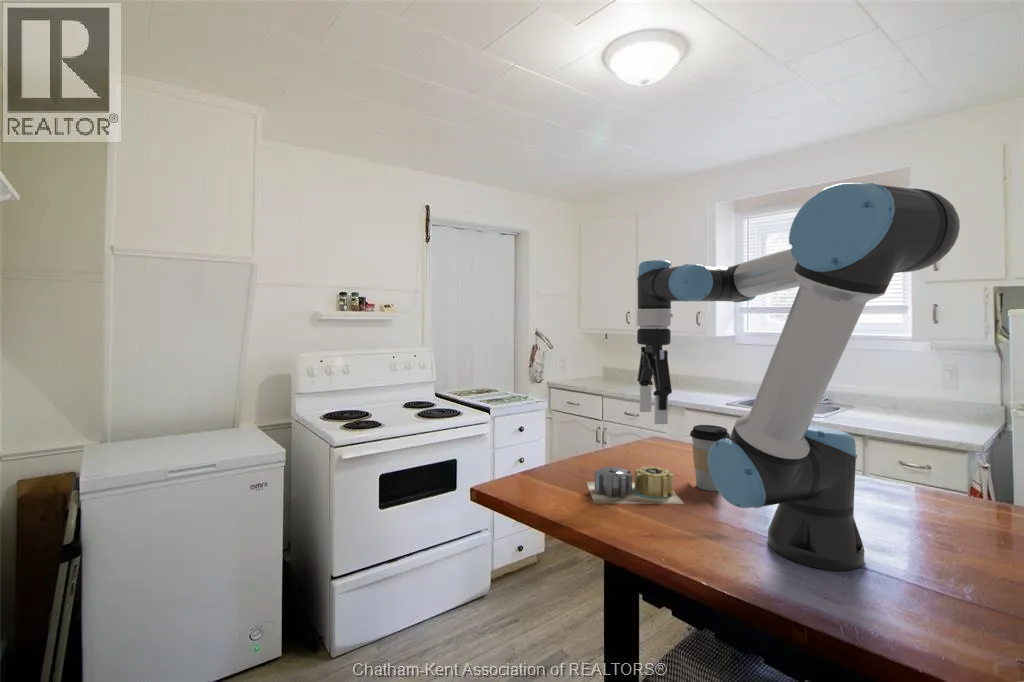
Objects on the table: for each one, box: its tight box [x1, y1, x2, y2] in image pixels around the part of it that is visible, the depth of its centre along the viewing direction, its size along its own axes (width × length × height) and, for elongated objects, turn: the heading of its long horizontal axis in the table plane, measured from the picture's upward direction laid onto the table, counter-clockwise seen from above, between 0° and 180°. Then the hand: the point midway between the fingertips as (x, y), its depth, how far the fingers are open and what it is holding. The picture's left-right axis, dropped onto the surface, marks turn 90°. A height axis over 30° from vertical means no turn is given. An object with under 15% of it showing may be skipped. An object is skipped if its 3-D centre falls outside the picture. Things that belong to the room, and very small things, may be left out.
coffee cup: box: [689, 424, 731, 492], centre depth 123 cm, size 9×9×15 cm
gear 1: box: [594, 466, 633, 497], centre depth 116 cm, size 8×8×5 cm
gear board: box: [586, 469, 685, 505], centre depth 116 cm, size 14×20×7 cm
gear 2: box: [634, 466, 674, 497], centre depth 116 cm, size 8×8×5 cm
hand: (652, 417), depth 116 cm, fingers open, 13 cm apart
